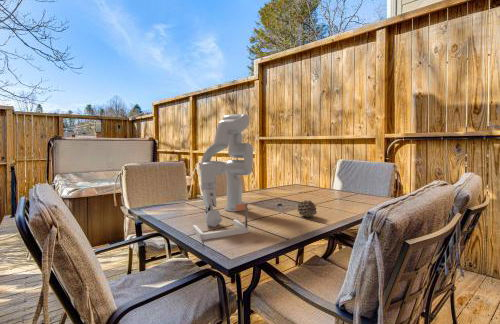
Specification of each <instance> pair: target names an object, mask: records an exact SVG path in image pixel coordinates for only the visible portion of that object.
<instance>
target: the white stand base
mask: <svg viewBox="0 0 500 324" xmlns="http://www.w3.org/2000/svg"><path fill="white" fill-rule="evenodd" d="M240 210H242V211H244V212H245V213H244V216H245V217H244V222H245V223H243V222H241V221H239V220H238V219H233V221H232V222H233V224H232V225H233V226H235V228H229V229H223V230H221V229H220V230H216V231H209V232H204V231H202V230H201V229H200V228H199V227H198V226H197V224H193V225H192V231H193V233H196V234H195V235H196V236H197V237H198V238H199V240H200V241H205V240H211V239H216V238H217V239H218V238H224V237H230V236H235V235H243V234H248V233H249V226H248V205H247V203H246V202H245V203H244V204H236V211H235V212H241V211H240Z"/></svg>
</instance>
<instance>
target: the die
mask: <svg viewBox="0 0 500 324" xmlns="http://www.w3.org/2000/svg"><path fill="white" fill-rule="evenodd" d="M203 217H204V218H203V219H204V220H205V223H206V225H207V226H209V227H211V228H216V227H218V226H217V225H219V224H220V223H221V222H222V221H223V218H222V216H221V213H220V210H217V209H213V210H210V211H209V212H208V213H207V214H206V213H205V215H204V216H203Z"/></svg>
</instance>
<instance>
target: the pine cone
mask: <svg viewBox="0 0 500 324" xmlns="http://www.w3.org/2000/svg"><path fill="white" fill-rule="evenodd" d="M293 204H294V206H295V207H296V211H297V212H298V214H299V215H300V216H303V217H306V218H307V217H308V218H309V217H313V216H315V215H317V213H318V211H317V205H316V204H315V202H313V201H312V200H309V199H305V200H302V201H301V202H299V203H298V204H297V202H296V201H294V202H293Z"/></svg>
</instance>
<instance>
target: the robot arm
mask: <svg viewBox="0 0 500 324" xmlns="http://www.w3.org/2000/svg"><path fill="white" fill-rule="evenodd" d="M250 123H251V122H250V116H249V115H248V114H246V113H235V114H233V113H232V114H231V113H230V114H226V115H224V116H223V117H222V119H221V120H220V121H218V124H217V125H216V126H217V127H216V130H215V136H214V140H213V143H212V144H211V145H210V146H209V147H208V148H207V149H206V150H205V151H204V153H203V155H202V158H201V161H200V170H201V171H200V172H201V173H200V174H201V175H200V176H201V177H200V179H201V189H202V204H203V206H205V214H207V213H208V212H209V211H210V210H214V208H217V195H216V194H217V192H216V188H217V186H216V185H217V184H216V179H217V178H216V176H217V175H219V176H220V175H224V174H225V176H226V206H225V207H224V211H227V212H237V211H236V204H244V203H247V206H249V204H250V202H249V201H243V193H242V192H243V186H242V185H243V181H242V179H241V178H240V176H251V174H252V171H253V165H254V161H253V160H254V147H253V146H252V144H251V143H250V142H243V132H244V130H246V129H247V128H248V127H249V125H250ZM226 149H228V152H227V153H228V156H229V157H230V158H234V159H229V160H227V161H226V162H224V161H220V160H217V161H216V160H212V158H213V157H214V156H215V155H216V154H218V153H220V152H221V151H224V150H226ZM241 211H243V210H240V211H239V212H241Z"/></svg>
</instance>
